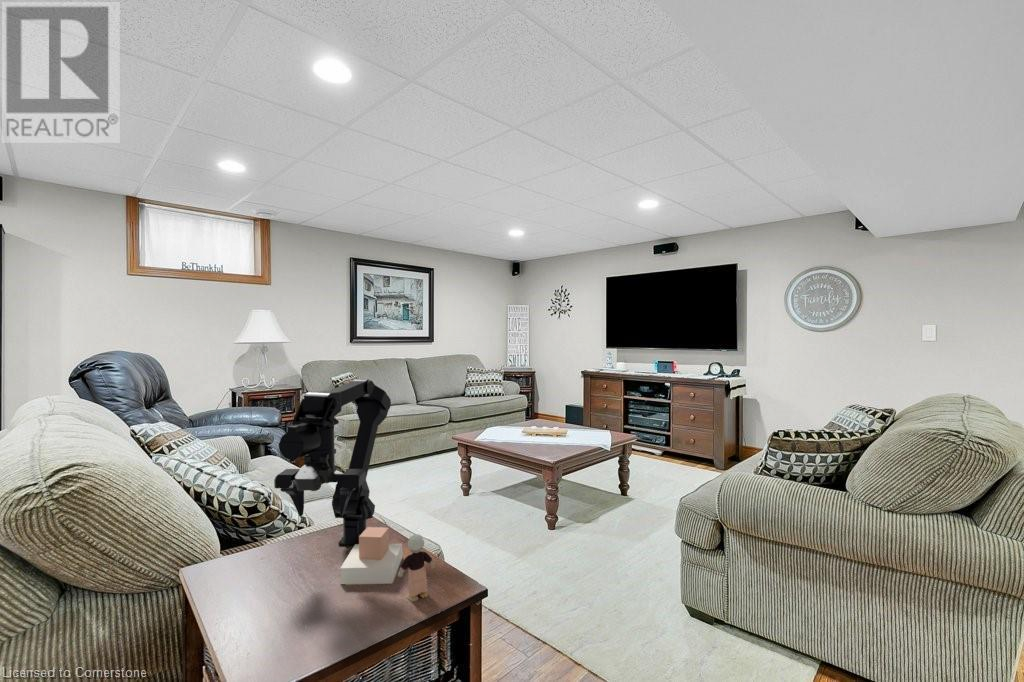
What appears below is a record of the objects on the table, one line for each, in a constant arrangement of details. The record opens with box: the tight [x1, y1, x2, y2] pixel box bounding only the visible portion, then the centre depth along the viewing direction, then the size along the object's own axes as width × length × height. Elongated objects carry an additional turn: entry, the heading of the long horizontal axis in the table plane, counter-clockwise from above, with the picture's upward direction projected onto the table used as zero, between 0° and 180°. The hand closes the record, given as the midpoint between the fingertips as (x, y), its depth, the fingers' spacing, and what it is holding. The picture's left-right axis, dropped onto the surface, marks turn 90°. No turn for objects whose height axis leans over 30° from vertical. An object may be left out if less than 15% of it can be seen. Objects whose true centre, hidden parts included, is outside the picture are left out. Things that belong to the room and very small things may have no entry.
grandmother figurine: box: [397, 533, 436, 603], centre depth 96 cm, size 8×4×13 cm, turn 135°
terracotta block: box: [359, 526, 390, 560], centre depth 106 cm, size 5×5×5 cm
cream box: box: [339, 543, 403, 585], centre depth 106 cm, size 11×11×4 cm
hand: (321, 515), depth 107 cm, fingers open, 9 cm apart
